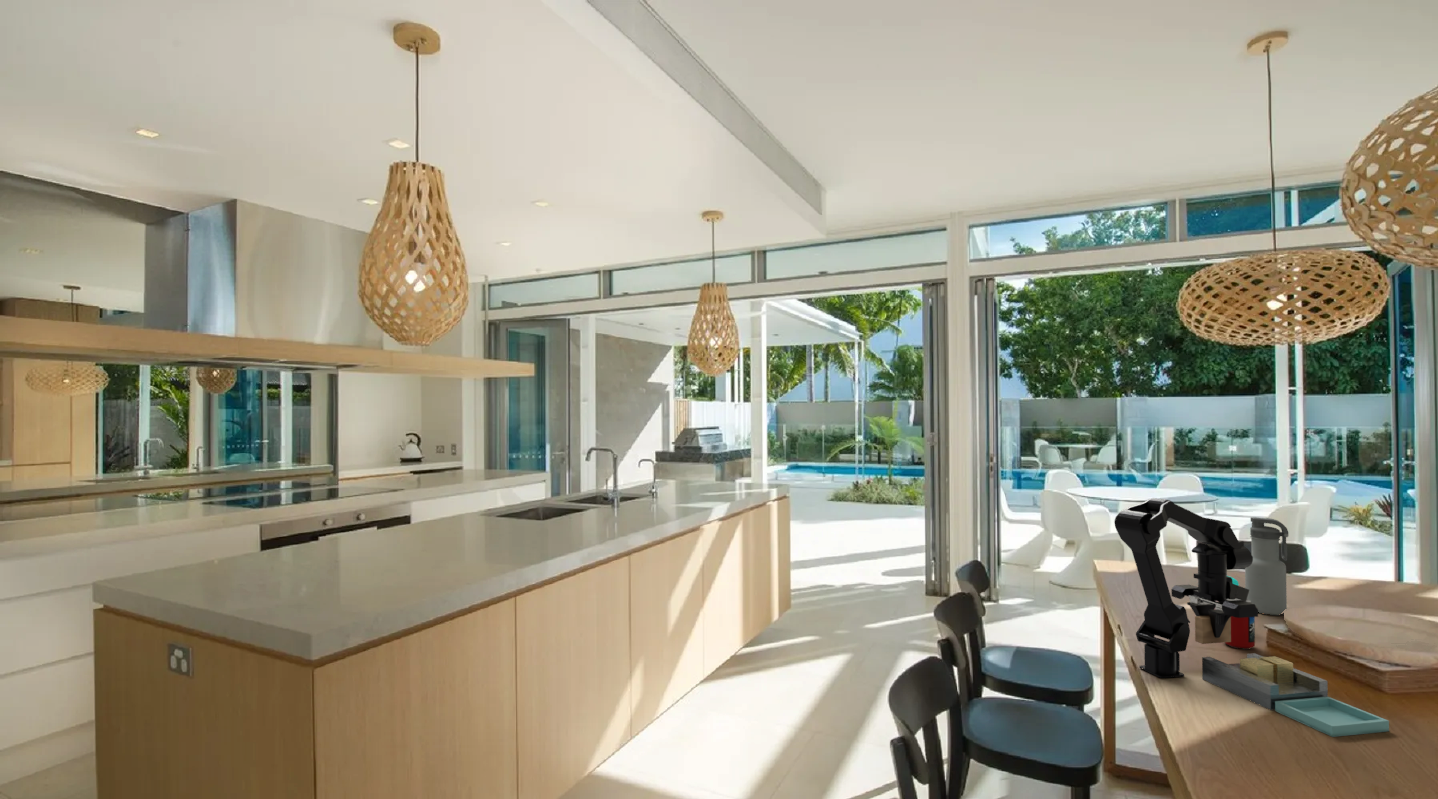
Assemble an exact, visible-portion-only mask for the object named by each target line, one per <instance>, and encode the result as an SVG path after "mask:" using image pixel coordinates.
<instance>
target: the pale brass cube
mask: <svg viewBox="0 0 1438 799" xmlns="http://www.w3.org/2000/svg"><path fill="white" fill-rule="evenodd" d="M1239 663H1240V669H1241V670H1243V671H1246V672H1248V673H1251V674H1253V675H1256V676H1258V677H1261V678H1263V679H1265V680H1268V681H1270V682H1273V683H1274V677H1273V664H1270V663H1268V662H1265V661H1263V660H1260V659H1257V658H1247V657H1246V658H1240V659H1239Z"/></svg>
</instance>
